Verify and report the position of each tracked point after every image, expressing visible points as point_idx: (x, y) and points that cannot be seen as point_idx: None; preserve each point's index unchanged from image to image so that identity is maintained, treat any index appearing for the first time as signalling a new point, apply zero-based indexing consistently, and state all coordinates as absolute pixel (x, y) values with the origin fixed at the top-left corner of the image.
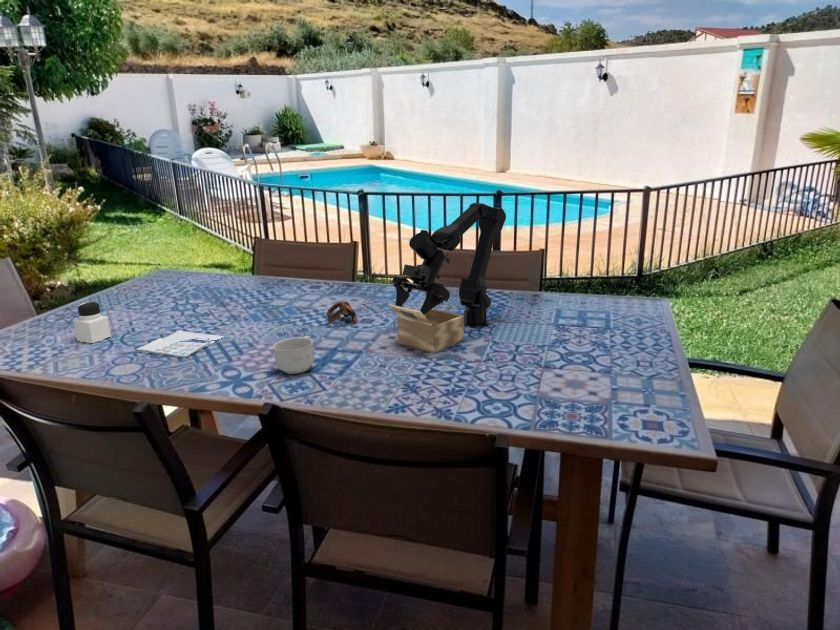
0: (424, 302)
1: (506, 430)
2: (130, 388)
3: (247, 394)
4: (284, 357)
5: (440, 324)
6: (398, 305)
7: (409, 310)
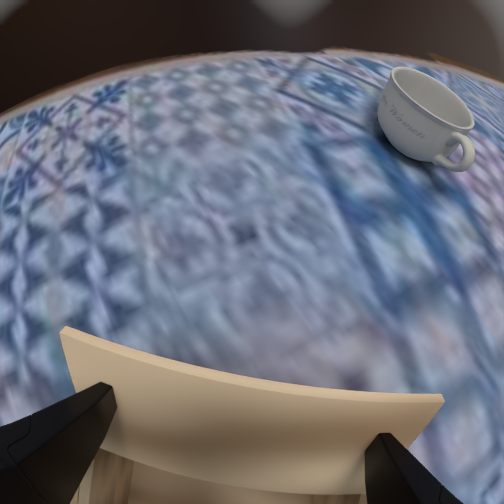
0: (38, 437)
1: None
2: (469, 73)
3: (369, 64)
4: (404, 80)
5: (80, 486)
6: (381, 461)
7: (187, 366)
